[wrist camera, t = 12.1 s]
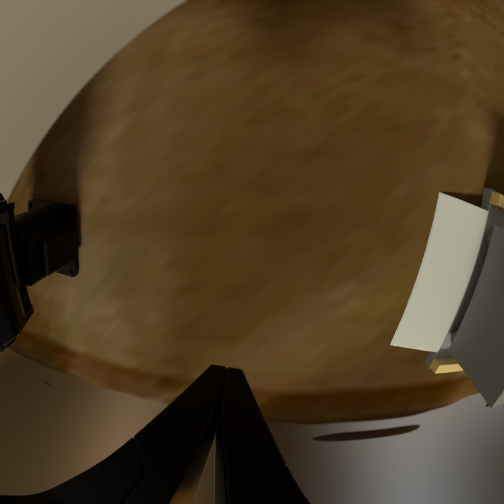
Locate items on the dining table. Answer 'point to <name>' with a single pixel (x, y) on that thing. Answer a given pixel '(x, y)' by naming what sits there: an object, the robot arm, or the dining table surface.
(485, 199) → the loading dock
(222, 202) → the dining table surface
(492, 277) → the gray and cream l-shape
